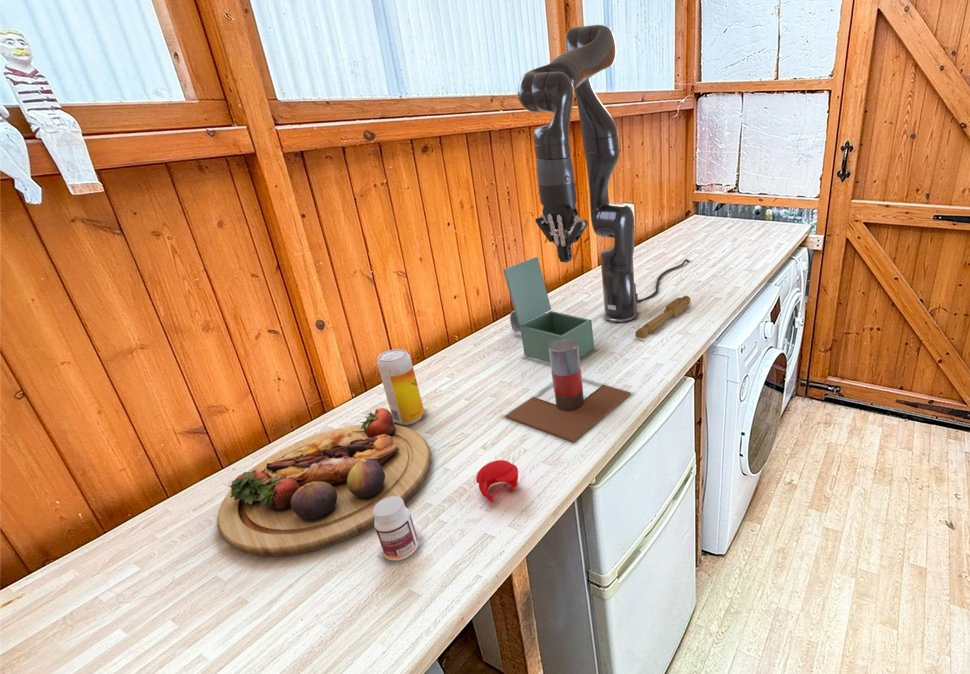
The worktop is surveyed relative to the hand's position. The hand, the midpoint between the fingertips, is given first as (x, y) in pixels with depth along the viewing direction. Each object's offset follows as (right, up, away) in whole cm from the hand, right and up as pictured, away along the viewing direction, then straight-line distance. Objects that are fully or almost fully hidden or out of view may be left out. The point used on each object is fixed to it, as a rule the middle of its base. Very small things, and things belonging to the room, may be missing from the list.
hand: (565, 261), depth 114 cm
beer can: (-32, -34, -5) cm, 47 cm away
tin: (+1, -31, -3) cm, 31 cm away
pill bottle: (-18, -48, -37) cm, 64 cm away
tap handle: (+23, -12, +38) cm, 46 cm away
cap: (-7, -43, -27) cm, 51 cm away
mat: (+1, -31, -3) cm, 32 cm away
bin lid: (-12, -5, +16) cm, 21 cm away
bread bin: (-5, -21, +20) cm, 29 cm away
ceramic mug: (-16, -15, +34) cm, 41 cm away
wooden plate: (-36, -43, -24) cm, 61 cm away
